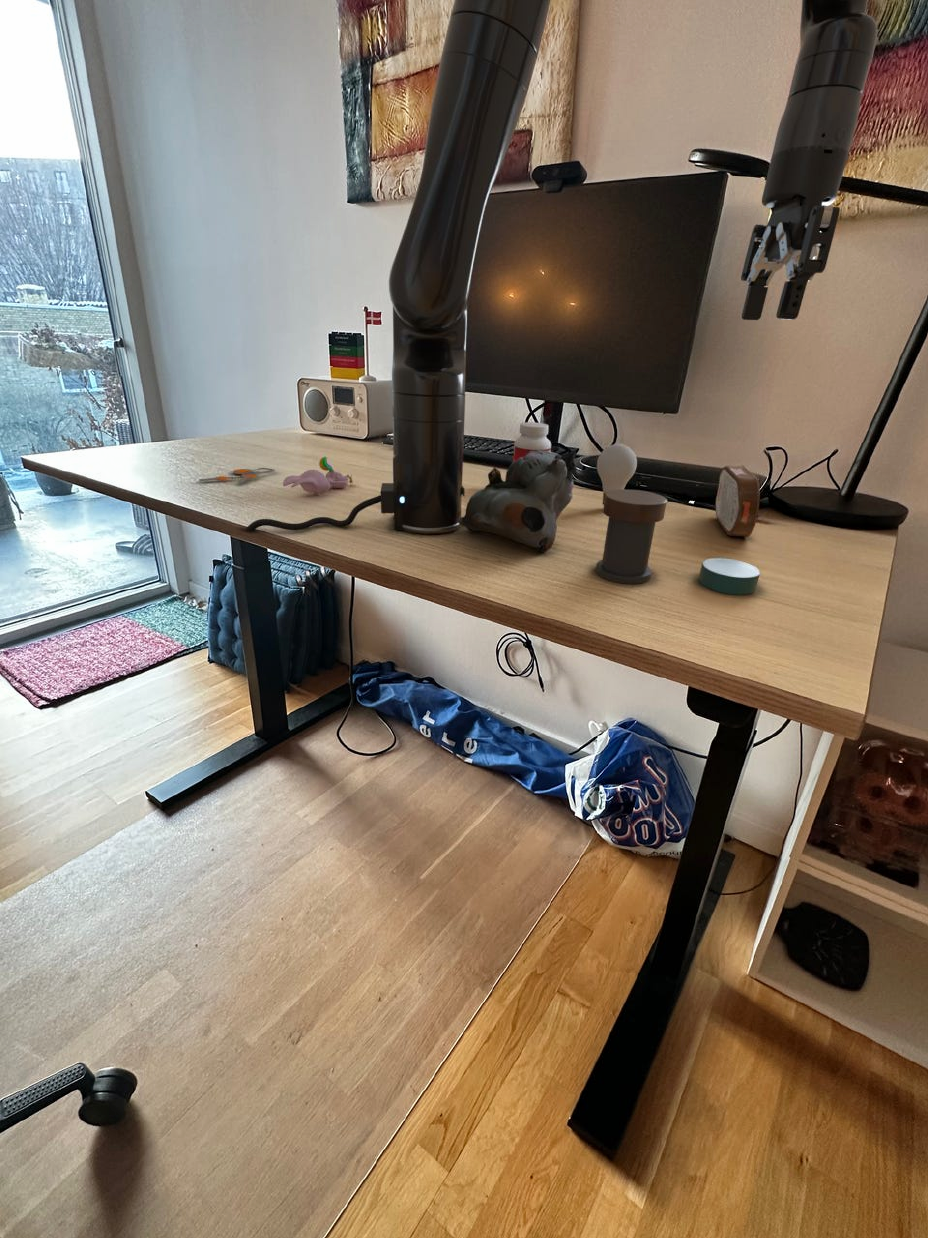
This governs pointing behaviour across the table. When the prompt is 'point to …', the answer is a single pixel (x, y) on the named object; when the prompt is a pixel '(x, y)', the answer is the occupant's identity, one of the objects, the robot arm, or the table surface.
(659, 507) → the walnut chip
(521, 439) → the pill bottle
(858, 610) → the table surface
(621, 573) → the upturned cup
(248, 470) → the key chain
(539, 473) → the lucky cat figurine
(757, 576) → the teal chip
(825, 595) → the table surface
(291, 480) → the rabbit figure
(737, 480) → the tin
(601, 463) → the light bulb
